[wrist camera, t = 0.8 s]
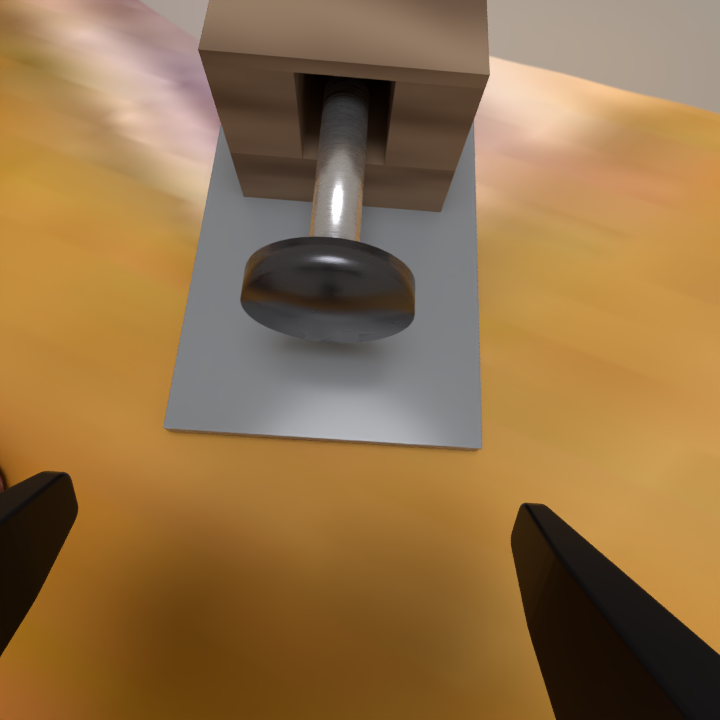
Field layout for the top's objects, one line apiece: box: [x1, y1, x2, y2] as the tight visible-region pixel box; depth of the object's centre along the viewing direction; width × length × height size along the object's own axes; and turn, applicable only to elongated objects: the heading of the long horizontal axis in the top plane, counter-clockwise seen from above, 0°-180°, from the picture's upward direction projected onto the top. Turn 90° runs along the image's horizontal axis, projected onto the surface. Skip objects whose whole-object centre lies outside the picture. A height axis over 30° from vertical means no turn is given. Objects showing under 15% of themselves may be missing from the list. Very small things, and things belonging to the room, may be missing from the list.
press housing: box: [198, 0, 490, 212], centre depth 22 cm, size 10×11×8 cm
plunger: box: [240, 76, 415, 343], centre depth 18 cm, size 11×6×6 cm, turn 177°
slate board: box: [163, 120, 482, 451], centre depth 25 cm, size 23×15×1 cm, turn 177°
